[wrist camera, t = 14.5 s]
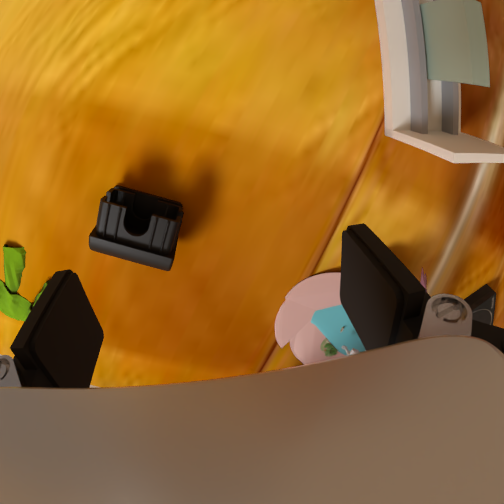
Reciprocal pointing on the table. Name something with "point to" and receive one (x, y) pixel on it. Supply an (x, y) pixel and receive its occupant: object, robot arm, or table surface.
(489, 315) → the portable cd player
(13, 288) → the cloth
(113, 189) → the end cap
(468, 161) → the cabinet base
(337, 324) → the flower arrangement
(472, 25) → the door panel
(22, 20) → the table surface
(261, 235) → the table surface
